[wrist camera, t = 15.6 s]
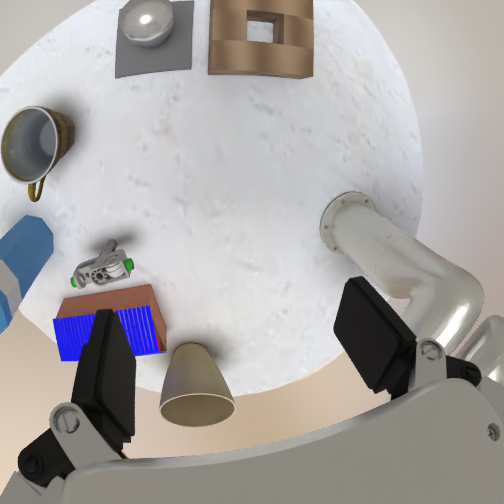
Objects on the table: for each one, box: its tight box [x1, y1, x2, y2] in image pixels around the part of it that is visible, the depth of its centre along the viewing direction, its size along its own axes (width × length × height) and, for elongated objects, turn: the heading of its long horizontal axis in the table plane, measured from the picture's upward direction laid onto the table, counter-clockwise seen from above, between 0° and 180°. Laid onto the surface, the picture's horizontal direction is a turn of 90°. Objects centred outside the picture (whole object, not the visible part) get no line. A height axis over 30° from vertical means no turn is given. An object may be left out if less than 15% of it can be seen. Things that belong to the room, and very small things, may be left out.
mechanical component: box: [71, 240, 134, 289], centre depth 37 cm, size 3×10×10 cm, turn 101°
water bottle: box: [0, 215, 53, 334], centre depth 26 cm, size 9×9×25 cm
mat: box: [115, 0, 194, 78], centre depth 27 cm, size 11×12×1 cm
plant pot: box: [159, 343, 236, 428], centre depth 51 cm, size 15×15×16 cm
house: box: [53, 284, 167, 361], centre depth 43 cm, size 12×20×12 cm, turn 94°
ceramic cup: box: [0, 106, 75, 202], centre depth 27 cm, size 13×10×10 cm
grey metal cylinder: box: [118, 0, 173, 49], centre depth 22 cm, size 6×6×10 cm
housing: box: [208, 0, 314, 79], centre depth 28 cm, size 14×14×5 cm
